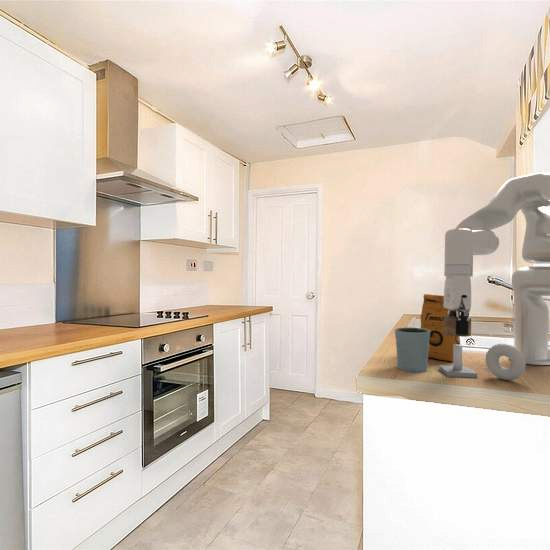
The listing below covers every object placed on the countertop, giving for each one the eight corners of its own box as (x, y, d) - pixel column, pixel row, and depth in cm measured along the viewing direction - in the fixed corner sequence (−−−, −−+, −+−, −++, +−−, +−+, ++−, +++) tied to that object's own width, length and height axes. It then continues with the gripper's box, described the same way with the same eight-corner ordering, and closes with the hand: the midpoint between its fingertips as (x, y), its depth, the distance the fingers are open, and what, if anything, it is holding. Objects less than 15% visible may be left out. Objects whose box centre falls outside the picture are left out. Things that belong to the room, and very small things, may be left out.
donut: (483, 376, 109) (483, 341, 109) (488, 375, 111) (489, 340, 111) (522, 385, 101) (522, 347, 101) (527, 383, 103) (528, 345, 103)
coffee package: (452, 364, 124) (453, 295, 124) (416, 357, 133) (416, 294, 133) (465, 359, 131) (465, 294, 131) (429, 353, 140) (430, 293, 140)
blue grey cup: (432, 367, 119) (432, 328, 119) (426, 375, 110) (427, 333, 110) (398, 363, 124) (399, 326, 124) (390, 370, 116) (391, 330, 116)
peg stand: (466, 370, 116) (467, 343, 116) (477, 377, 108) (477, 348, 108) (439, 369, 117) (439, 342, 117) (447, 376, 109) (447, 347, 109)
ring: (441, 332, 116) (442, 315, 116) (464, 333, 115) (465, 316, 115) (449, 336, 109) (449, 318, 109) (473, 336, 109) (473, 319, 109)
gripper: (436, 271, 121) (435, 328, 121) (455, 271, 104) (453, 337, 104) (461, 272, 120) (460, 329, 120) (484, 271, 103) (483, 338, 103)
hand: (457, 332), depth 112 cm, fingers closed on ring, 6 cm apart
